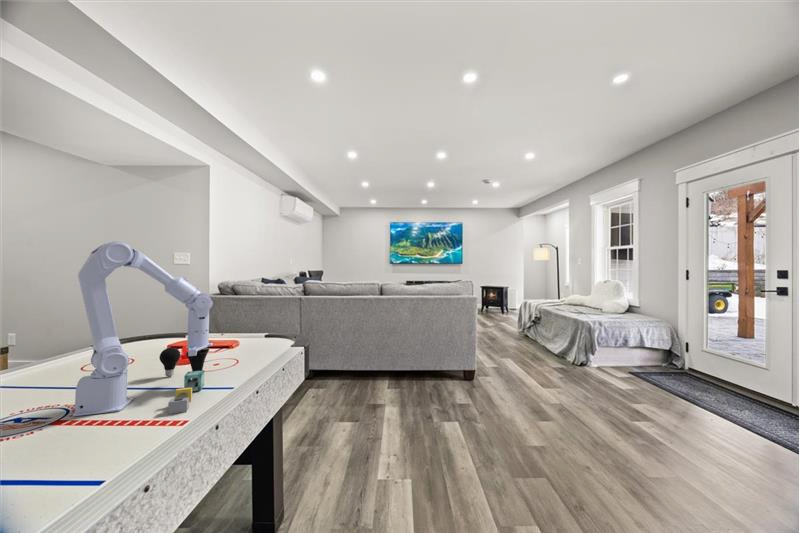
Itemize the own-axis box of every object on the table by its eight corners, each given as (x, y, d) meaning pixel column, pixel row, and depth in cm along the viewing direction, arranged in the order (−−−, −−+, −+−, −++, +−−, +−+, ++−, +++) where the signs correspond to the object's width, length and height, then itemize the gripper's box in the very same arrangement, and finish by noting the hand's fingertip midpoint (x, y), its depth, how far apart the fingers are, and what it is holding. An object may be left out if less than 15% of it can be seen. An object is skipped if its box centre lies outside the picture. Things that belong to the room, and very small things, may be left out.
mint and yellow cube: (184, 391, 93) (184, 375, 93) (187, 387, 97) (188, 371, 97) (201, 390, 95) (201, 374, 95) (204, 385, 99) (204, 370, 99)
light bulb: (184, 374, 110) (184, 346, 111) (170, 380, 105) (171, 350, 105) (168, 373, 111) (169, 345, 111) (154, 379, 105) (155, 349, 105)
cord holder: (186, 411, 81) (187, 395, 81) (168, 414, 79) (168, 397, 79) (204, 385, 100) (204, 371, 100) (189, 386, 99) (190, 372, 99)
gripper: (208, 333, 94) (207, 379, 94) (216, 326, 108) (215, 365, 108) (180, 335, 92) (179, 381, 91) (193, 327, 105) (192, 367, 105)
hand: (197, 373), depth 99 cm, fingers closed
